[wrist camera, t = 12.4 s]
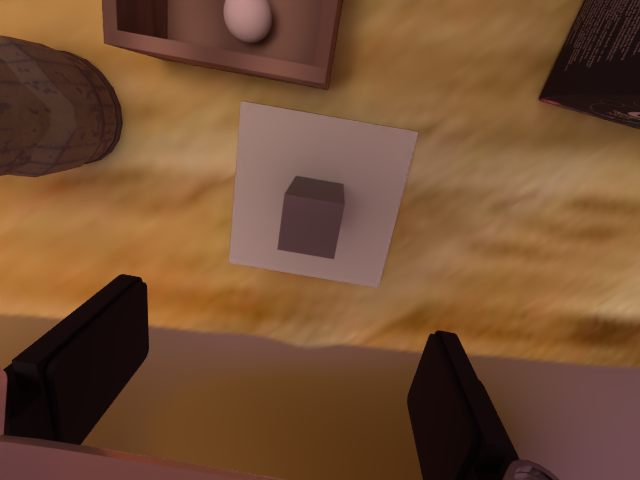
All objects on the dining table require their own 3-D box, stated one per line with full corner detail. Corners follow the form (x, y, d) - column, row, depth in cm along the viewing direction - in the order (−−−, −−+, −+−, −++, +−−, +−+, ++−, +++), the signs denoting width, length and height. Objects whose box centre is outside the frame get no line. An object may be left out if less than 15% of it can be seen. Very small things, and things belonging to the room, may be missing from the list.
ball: (278, -1, 24) (270, -17, 21) (273, 50, 25) (264, 42, 22) (233, -10, 24) (218, -26, 21) (229, 42, 25) (215, 33, 22)
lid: (415, 131, 28) (441, 139, 21) (377, 282, 33) (388, 330, 26) (244, 101, 28) (212, 98, 21) (232, 257, 33) (203, 299, 26)
